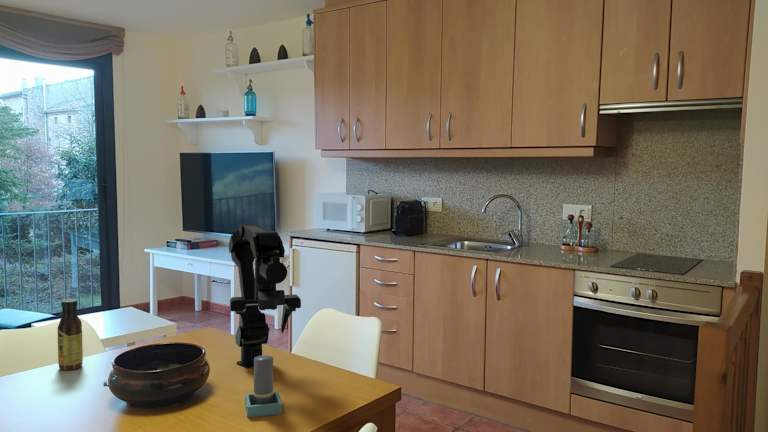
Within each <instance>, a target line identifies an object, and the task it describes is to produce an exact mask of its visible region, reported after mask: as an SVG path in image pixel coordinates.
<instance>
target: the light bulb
mask: <svg viewBox="0 0 768 432" xmlns="http://www.w3.org/2000/svg"><path fill="white" fill-rule="evenodd" d="M252 391H253V392H252V394H253V396H254V405H259V404H270V403H273V392H275V391H274V356H271V355H265V354H264V355H263V354H262V356H257V357H255V358H254V367H253V390H252Z"/></svg>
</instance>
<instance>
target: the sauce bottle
mask: <svg viewBox="0 0 768 432" xmlns="http://www.w3.org/2000/svg"><path fill="white" fill-rule="evenodd" d="M60 303H61V304H60V306H61V318H60V321H59V323H58V325H57V329H56V330H57V363H58V368H59V369H60V370H61V371H73V370H78V369H80V368H81V367H82V366H83V360H84V359H83V358H84V357H83V356H84V355H83V354H84V353H83V351H84V350H83V330H82V329H83V328H82V327H83V325H82V320H81V318H80V317H79V316H78V311H77V310H78V305H79V303H78V299H77V298H66V299H63V300H61V302H60Z"/></svg>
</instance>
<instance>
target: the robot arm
mask: <svg viewBox="0 0 768 432" xmlns="http://www.w3.org/2000/svg"><path fill="white" fill-rule="evenodd" d="M284 246H285V245H284V243H283V240H282V238H281V236H280V235H279V233H278V231H275V230H274V231H265V230H264V229H262V228H260V227H258V225H257V224H255V223H250V224H249V223H248V224H244V223H243V224H241V225H239V227H238V229H237V230H236V231H235V232H234V233H232V234H231V235H230V238H229V242H228V252H229V253H230V257H231V260H232V262H233V263H234V265H236V267H237V269H238V276H239V277H238V279H239V287H240V294H241V295H240V296H232V297H230V299H229V310H230V312H234V313H235V314H236V315H239V316H240V319H239V321H238V327H237V330H236V333H235V344H236V346H238V347H239V348H240V360H238V361H236V364H237V365H239V366H242V367H245V368H246V369H250V368H251V369H252V368H254V358H255V357H257V356H263V345H265V344H266V345H268V342H269V335H270V330H271V329H270V327H269V325H268V323H267V321H266V314H265V313H264V312H261V311H266V310H272V311H275V310H277V309H278V306H282V312H281V313H282V314H281V324H280V325H281V326H280V329H281V331H280V332H281V334H284V332H285V328H286V326H287V323H288V320H289V318H290V316H291V314H292V313H293V312H296V311H297V309H301V308H302V299H301V298H300V297H299V295H297V294H285V293H286V292H285V290H284V289H278V290H277V284H281V283H282V282H283V281H284V280H286V278H287V275H288V269H287V266H286V265H285V264H284V263H283V262H281V259H282V258H283V259H284V258H285V252H286V250H285V247H284Z"/></svg>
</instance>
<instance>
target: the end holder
mask: <svg viewBox="0 0 768 432" xmlns="http://www.w3.org/2000/svg"><path fill="white" fill-rule="evenodd" d="M244 402H245V403H244V406H245V411H246V412H245V413H246V418H254V417H255V418H257V417H265V416H266V417H267V416H273V415H274V416H275V415H283V402H282V399H281V395H280V392H279V391H276V390H275V391H274V392H273V403H270V404H259V405H254V396H253V393H245V394H244Z"/></svg>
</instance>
